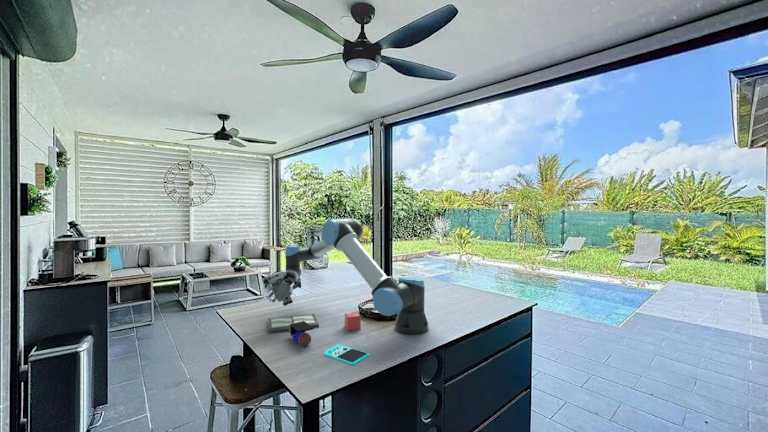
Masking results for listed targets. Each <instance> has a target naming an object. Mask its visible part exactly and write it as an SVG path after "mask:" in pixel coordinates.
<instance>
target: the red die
mask: <svg viewBox="0 0 768 432" xmlns="http://www.w3.org/2000/svg"><path fill="white" fill-rule="evenodd" d="M361 323H362V321H361V315H360V313H359V312H358V311H354V312H353V311H352V312H345V313H344V327H345V330H347V331H355V330H361V328H362V327H361V326H362V325H361Z"/></svg>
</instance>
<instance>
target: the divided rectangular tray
mask: <svg viewBox="0 0 768 432" xmlns="http://www.w3.org/2000/svg"><path fill="white" fill-rule="evenodd" d="M302 321H305V322H306V323H307V324H309V325H310V326H311V327H313V329H314V328H319V327H320V324H319V321H318V319H317V317H316V316H315V313H308V314H299V315H292V316H290V315H289V316H282V317H273V318H268V319H267V322H268V323H267V324H268V325H267V326H268V329H267V330H268V334H275V333H283V332H289V329H288V326H289V325H290V324H293V323H298V322H302Z"/></svg>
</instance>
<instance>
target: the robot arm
mask: <svg viewBox="0 0 768 432" xmlns="http://www.w3.org/2000/svg"><path fill="white" fill-rule="evenodd" d="M363 229H364V227H363V226H362V223H361V222H360V221H359V220H357V219H355V218H353V217H352V218H351V217H350V218H333V219H329V220H327V221H325V222H324V224H323V226H322V228H321V238H322V239H321V240H319V241H316V242H315V243H313V244H312V245H309V246H306V247H300V245H291V244H290V245H287V246H286V247H285V251H284V255H285V271H284V272H285V273H286V276H284V277H283V280H284V281H285V282H286V283H287V282H288V283H289V285H290V292H292V293H293V291H294V290H296V289H297V288H299V289H301V288H302V278H301V275H302V269H301V263H302V262H306V261H314V260H317V259H320V258H321V257H322V256H323V255H325V254H327V253H329V252H331V251H333V250H337V252H342V253H343V254H344V256H345V257H346V258H347V259H348V260H349V262H350V263H351V264H352V266H353V267H354V268H355V270H356V271H357V272H358V273H359V275H360V276H361V278H362V279H364V281H365V282H366V283H367V285H368V286H369V287H370V289H371V296H372V302H373V303H372V304H373V306H374V309H375V310H376V311H377V312H378V313H379V314H380V315H382V316H386V317H390V316H395V315H397V316H396V319H395V322H394V329H395V331H397V332H399V333H402V334H406V335H420V334H423V333H427V331H429V321H428V319H427V315H426V313H425V281H424V280H423V279H422V278H419V277H413V276H412V277H411V276H401V277H399V278H398V281H397V280H396V279H395V278H394V277H393V276H388V275H387V274H386V273H385V272H384V270H382V269H381V267H380V265H378V263H377V262H376V261H375V260H374V259H373V258H372V256H371V255H370V254H369V253H368V251H367V250H366V249H365V248H364V247H363V245H362V244H361V243H360V242H359V240H360V239H361V237H362V236H363V233H364V230H363ZM281 281H282V280H281ZM281 281H280V282H281ZM274 285H275V284H271V285H266V284H264V289H265V290H266V293H267V294H268V293H271V292H272V290H271V287H273V286H274Z"/></svg>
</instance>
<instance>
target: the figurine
mask: <svg viewBox="0 0 768 432" xmlns="http://www.w3.org/2000/svg"><path fill="white" fill-rule="evenodd" d="M285 272H286V271H278V272H275V273H271V274H270V275H267V276H265V277H263V279H262V283H263V284H264V285H265V284H266V285H271V284H275V285H274V286H273V287H271V291H270V292H269V293H270V294H269V295H268V296H267V295H266V296H265V298H266V299H268V300H269V302H272V303H275V302H276V301H277V302H282V305H283V306H284V307H286V306H288V305H290V304H292V303H294V302H293V299H292V297H291V296H292V295H293V291H292V292H290V285H289V283H288V282H287V283H286V282H285V281H284V280H283V277H284V276H286V273H285ZM281 280H282V281H281ZM280 281H281V282H280ZM273 295H274V298H273V299H271V298H272V296H273Z"/></svg>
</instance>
